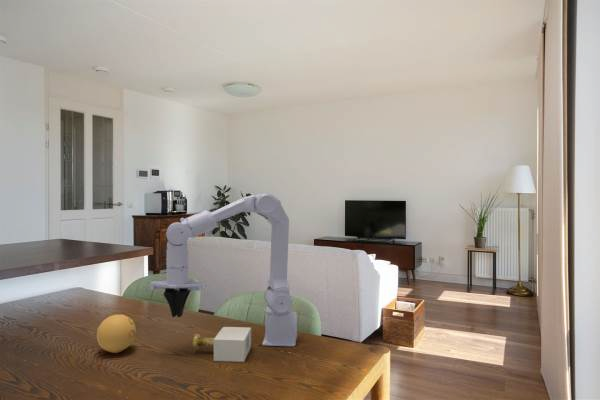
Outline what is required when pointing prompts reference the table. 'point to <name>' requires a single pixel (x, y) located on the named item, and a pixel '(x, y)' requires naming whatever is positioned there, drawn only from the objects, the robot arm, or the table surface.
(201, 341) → the pin
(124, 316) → the stress ball
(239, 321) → the table surface
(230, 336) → the block
